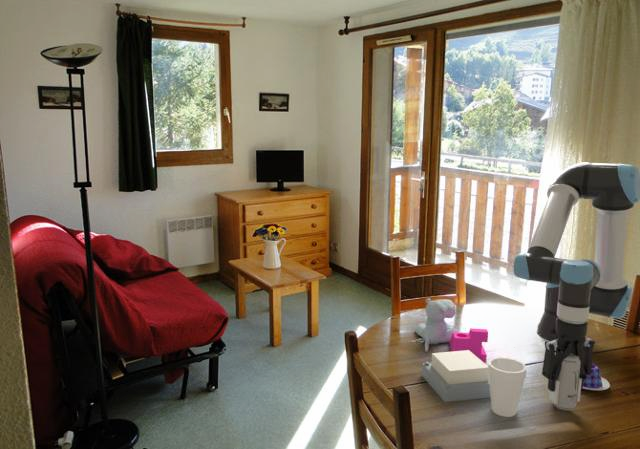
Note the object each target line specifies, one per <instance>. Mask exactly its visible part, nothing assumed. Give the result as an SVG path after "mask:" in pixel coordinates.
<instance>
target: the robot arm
mask: <svg viewBox="0 0 640 449" xmlns="http://www.w3.org/2000/svg"><path fill="white" fill-rule="evenodd" d="M546 195H547V201H546V204H545V206H544V208H543V212H542V213H541V216H540V218H539V221H538V223H537V227H536V229H535V231H534V235H533V237H532V239H531V241H530V244H529V246H528V249H527V252H519V253H517V254H516V255H515V257H514V261H513V265H512V266H513V267H512V268H513V270H512V271H513V274H514V276H515V278H518V279H522V280H527V281H533V282H538V283H539V282H540V283H546V284H545V297H544V309H543V313H542V316H541V318H540V321H539V323H538V324H537V329H536V330H537V331H536V332H537V334H539V336H540V337H541V338H545V339H546V340H545V341H544V349H545V350H544V356H543V357H544V358H543V362H542V364H543V365H542V372H541V375H542V376H543V377H544V378H546V379H547V380H548V382H547V389H548V390H549V392H548V400H549V401H550V402H552V404H553V405H554V404H558V395H559V384H560V381H559V380H557V379H558V376H559V373H560V371H561V368H562V362H563V360H564V359H565V358H567V357H568V354H570V353H574V354H576V355H577V356H579V359H580V362H581V364H580V373H579V383H578V393H577V402H580V401H581V390H582V389H584V388H583V382H584V379H587V376H586V375H591V373H592V364H593V353H594V352H593V349H594V347H595V344H596V342H595V340H593V339H591V338H589V337H586V336H587V334H588V326H589V325H588V324H589V323H588V321H589V316H590V314H591V315H595V316H596V315H597V316H601V317H607V318H608V319H611V318H612V319H618V320H619V319H623V318H624V317H625V316H626V313H627V310H628V308H629V303H630V300H631V296H632V292H633V286H631V285H628V282H629V281H628V279H627V278H626V277H625V276H624V267H625V266H624V264H625V263H624V262H625V253H626V252H625V250H626V237H627V236H626V235H627V226H628V224H627V223H628V212H629V211H630V210H632V209H633V208H634V204H636V203H638V202H639V201H640V171H639V168H638V167H637V166H636V165H634V164H624V163H606V162H605V163H601V162H579V163H576V164H572V165H570V166H569V167H566V168H565V169H564V170H562V171H560V172H559V173H558V174H557V175H556V177H555V178H553V180H552V182H551V183H550V184H549V185H548V189H547V191H546ZM580 199H584V200H591V206H592V207H593V208H594V209H595V210H596V221H595V222H596V225H595V243H594V244H595V245H594V260H592V259H588V258H585V259H567V258H558V257H555V256H556V255H557V251H558V248H559V245H560V242H561V240H562V238H563V234H564V232H565V229H566V227H567V223H568V220H569V218H570V215H571V213H572V210H573V206H575V205H577V203H578V202H579V200H580ZM549 340H550V341H549ZM562 352H563V353H562Z"/></svg>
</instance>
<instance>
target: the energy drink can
mask: <svg viewBox="0 0 640 449" xmlns="http://www.w3.org/2000/svg"><path fill="white" fill-rule="evenodd" d="M562 353H563V352H562ZM580 364H581V362H580V359H579V356H577V355H576V354H574V353H570V354H568V357H567V358H565V359H564V360H563V362H562V368H561V371H560V373H559V376H558V379H557V380H559V381H560V384H559V395H558V404H554V403H553V406H554V407H555V408H556V409H559V410H562V411H572V410H574V408H576V407H577V393H578V383H579V373H580Z"/></svg>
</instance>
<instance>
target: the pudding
mask: <svg viewBox="0 0 640 449" xmlns="http://www.w3.org/2000/svg"><path fill="white" fill-rule="evenodd" d="M586 376H587V379H584V382H583V388H582V389H585V390H590V391H604V390H608V389H609V388H610V387H611V384H610V382H609V381H608V380H607V379H606V378H605V377H602V375H601V370H600V368H599V367H598V366H597V365H595V364H593V363H592V373H591V375H586Z"/></svg>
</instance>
